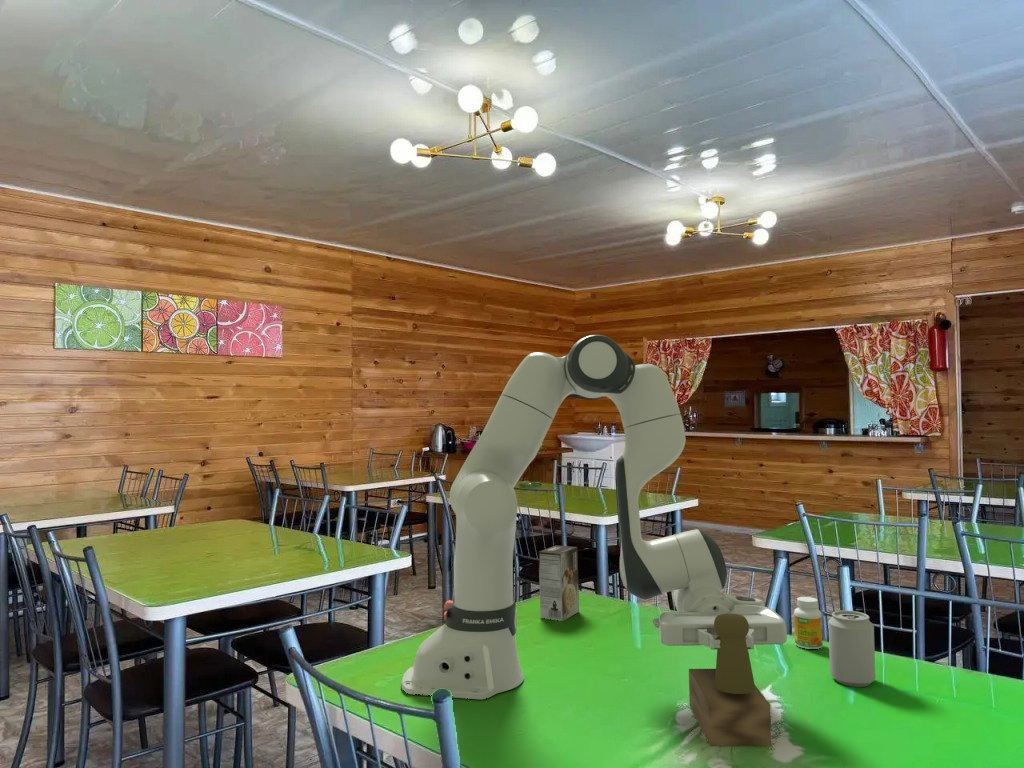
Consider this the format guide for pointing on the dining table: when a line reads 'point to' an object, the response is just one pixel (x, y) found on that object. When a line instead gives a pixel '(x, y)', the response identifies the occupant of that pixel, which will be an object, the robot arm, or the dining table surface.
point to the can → (851, 648)
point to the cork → (733, 655)
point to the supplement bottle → (808, 623)
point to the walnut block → (729, 712)
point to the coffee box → (558, 582)
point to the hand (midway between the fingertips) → (732, 644)
